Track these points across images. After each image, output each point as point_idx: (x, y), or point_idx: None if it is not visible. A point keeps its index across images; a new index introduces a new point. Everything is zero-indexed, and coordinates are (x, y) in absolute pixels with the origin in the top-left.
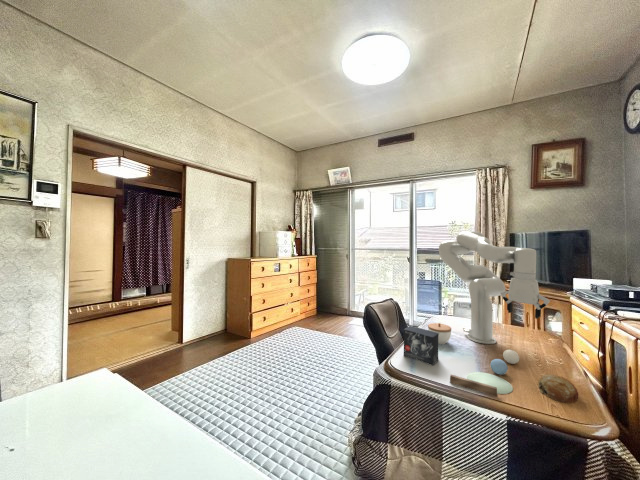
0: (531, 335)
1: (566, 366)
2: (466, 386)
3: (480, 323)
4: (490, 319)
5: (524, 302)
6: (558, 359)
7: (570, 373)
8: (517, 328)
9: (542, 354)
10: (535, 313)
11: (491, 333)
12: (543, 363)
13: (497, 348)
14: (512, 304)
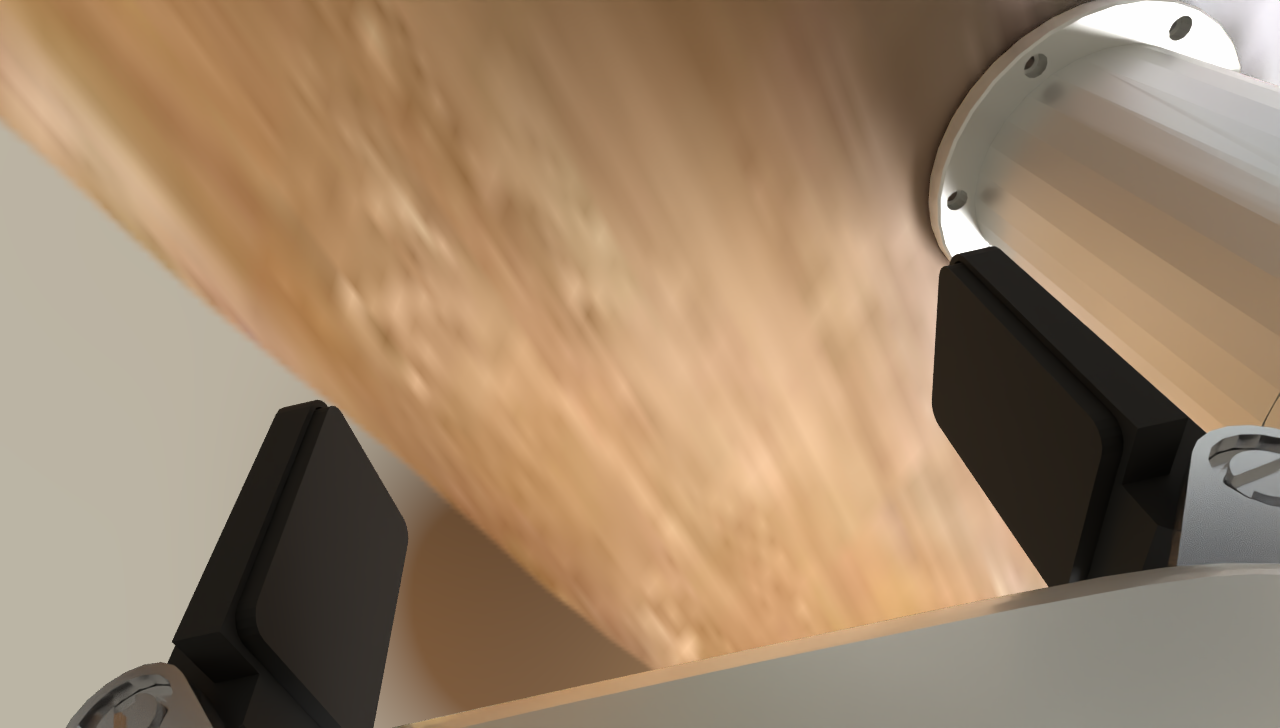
0: (795, 611)
1: (281, 274)
2: None
3: (1258, 133)
4: (1172, 297)
5: (534, 716)
6: (418, 362)
7: (133, 135)
8: None
9: (542, 346)
10: (285, 503)
11: (1023, 220)
12: (393, 133)
13: (856, 66)
14: (1045, 577)
